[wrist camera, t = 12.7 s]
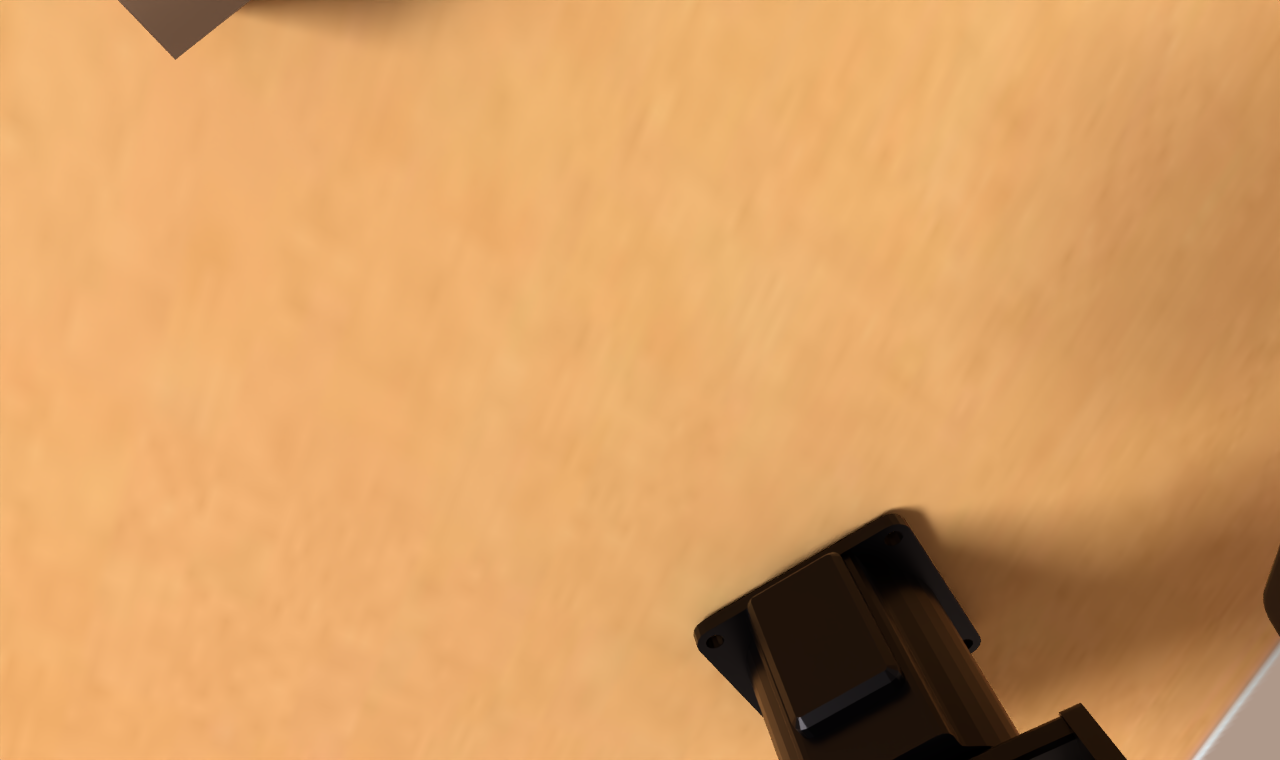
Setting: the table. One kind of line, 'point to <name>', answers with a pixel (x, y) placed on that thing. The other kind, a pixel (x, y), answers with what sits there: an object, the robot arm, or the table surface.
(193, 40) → the walnut block
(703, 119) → the table surface
